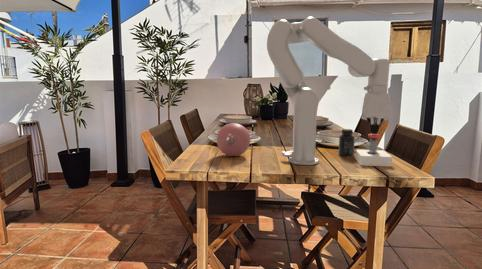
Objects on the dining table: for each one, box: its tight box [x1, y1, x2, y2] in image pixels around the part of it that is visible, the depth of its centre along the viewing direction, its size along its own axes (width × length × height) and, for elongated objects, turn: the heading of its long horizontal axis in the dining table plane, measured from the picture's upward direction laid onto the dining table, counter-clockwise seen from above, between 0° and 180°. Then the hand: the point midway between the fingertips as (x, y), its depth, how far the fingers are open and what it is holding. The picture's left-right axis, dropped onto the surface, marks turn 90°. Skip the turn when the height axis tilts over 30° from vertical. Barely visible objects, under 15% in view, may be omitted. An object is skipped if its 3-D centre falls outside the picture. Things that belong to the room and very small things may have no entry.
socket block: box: [354, 149, 393, 168], centre depth 134 cm, size 12×12×4 cm
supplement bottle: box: [338, 128, 356, 157], centre depth 147 cm, size 7×7×12 cm
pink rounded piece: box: [216, 122, 251, 157], centre depth 143 cm, size 15×20×15 cm
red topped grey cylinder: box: [367, 133, 381, 154], centre depth 134 cm, size 5×5×12 cm
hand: (373, 133), depth 133 cm, fingers closed
